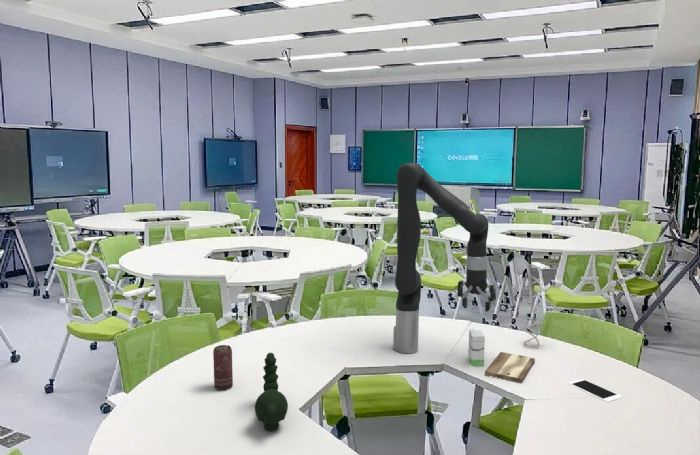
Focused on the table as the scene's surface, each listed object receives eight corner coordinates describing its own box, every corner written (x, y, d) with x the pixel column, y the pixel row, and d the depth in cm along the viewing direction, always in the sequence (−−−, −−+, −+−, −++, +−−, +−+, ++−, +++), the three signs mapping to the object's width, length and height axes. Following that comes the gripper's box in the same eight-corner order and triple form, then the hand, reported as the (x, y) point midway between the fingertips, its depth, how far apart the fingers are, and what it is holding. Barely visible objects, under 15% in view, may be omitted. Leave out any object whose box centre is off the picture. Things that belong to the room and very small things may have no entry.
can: (236, 384, 182) (235, 345, 180) (226, 392, 176) (225, 351, 174) (221, 381, 184) (220, 343, 182) (210, 389, 178) (209, 349, 176)
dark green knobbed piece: (256, 407, 170) (254, 442, 145) (255, 348, 169) (253, 374, 144) (285, 405, 171) (289, 439, 147) (285, 347, 170) (288, 372, 146)
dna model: (543, 347, 219) (547, 276, 215) (533, 350, 216) (537, 278, 212) (529, 342, 225) (533, 273, 221) (519, 345, 221) (523, 275, 217)
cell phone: (607, 403, 172) (607, 401, 172) (566, 384, 186) (567, 382, 186) (623, 398, 175) (623, 396, 175) (582, 379, 189) (582, 378, 189)
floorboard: (484, 375, 192) (484, 370, 191) (500, 355, 210) (500, 350, 210) (521, 383, 185) (521, 378, 185) (534, 362, 204) (534, 357, 204)
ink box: (484, 366, 199) (485, 336, 198) (470, 366, 200) (472, 336, 198) (480, 357, 208) (481, 328, 206) (467, 357, 208) (468, 328, 207)
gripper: (454, 267, 200) (454, 309, 202) (491, 271, 192) (491, 314, 194) (462, 263, 206) (462, 304, 208) (498, 267, 198) (498, 309, 200)
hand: (476, 309), depth 201 cm, fingers open, 8 cm apart
